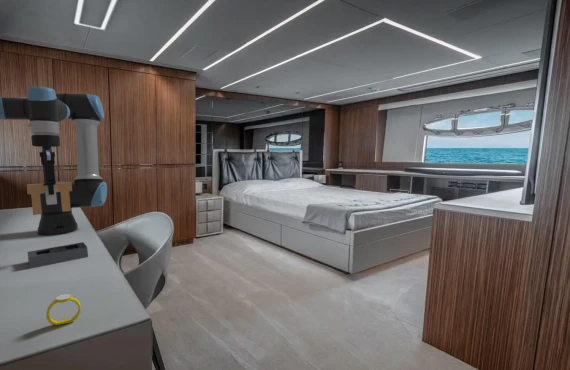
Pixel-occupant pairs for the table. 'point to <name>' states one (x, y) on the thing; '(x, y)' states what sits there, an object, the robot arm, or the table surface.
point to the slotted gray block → (57, 254)
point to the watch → (61, 299)
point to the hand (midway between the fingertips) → (51, 203)
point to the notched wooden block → (39, 188)
